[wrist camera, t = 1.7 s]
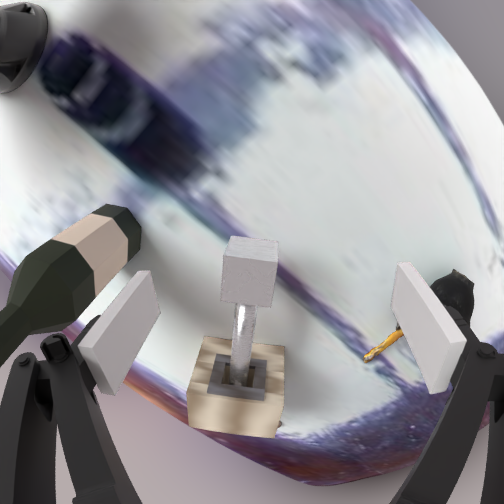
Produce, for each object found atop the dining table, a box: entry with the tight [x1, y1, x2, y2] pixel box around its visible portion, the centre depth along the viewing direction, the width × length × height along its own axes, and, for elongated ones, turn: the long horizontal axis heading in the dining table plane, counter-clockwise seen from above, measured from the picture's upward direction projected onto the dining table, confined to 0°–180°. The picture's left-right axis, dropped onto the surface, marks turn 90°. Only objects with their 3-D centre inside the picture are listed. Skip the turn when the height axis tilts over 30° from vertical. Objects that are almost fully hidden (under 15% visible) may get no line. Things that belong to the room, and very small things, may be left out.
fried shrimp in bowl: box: [363, 269, 474, 363], centre depth 37 cm, size 9×11×18 cm
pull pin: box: [221, 236, 278, 387], centre depth 36 cm, size 5×26×5 cm, turn 174°
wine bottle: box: [0, 204, 141, 367], centre depth 26 cm, size 8×8×30 cm
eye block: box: [186, 336, 284, 438], centre depth 42 cm, size 12×9×12 cm
